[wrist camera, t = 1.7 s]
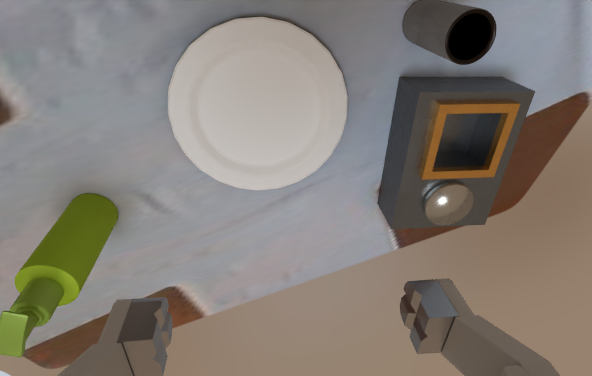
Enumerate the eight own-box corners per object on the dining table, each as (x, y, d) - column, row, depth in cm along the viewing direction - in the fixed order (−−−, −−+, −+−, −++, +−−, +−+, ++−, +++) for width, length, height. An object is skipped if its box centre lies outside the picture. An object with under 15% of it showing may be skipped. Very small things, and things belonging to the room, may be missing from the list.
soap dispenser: (123, 194, 47) (52, 325, 30) (113, 234, 50) (43, 372, 33) (74, 181, 45) (-32, 311, 28) (67, 222, 48) (-33, 363, 31)
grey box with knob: (399, 77, 42) (423, 95, 36) (502, 76, 44) (541, 94, 38) (377, 203, 52) (393, 233, 46) (462, 199, 53) (488, 229, 47)
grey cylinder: (450, 9, 39) (508, 21, 30) (427, 49, 41) (475, 72, 32) (416, -9, 38) (465, -2, 29) (394, 34, 40) (435, 53, 31)
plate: (157, 163, 45) (154, 170, 44) (187, -17, 35) (185, -16, 34) (310, 199, 51) (312, 206, 49) (373, 51, 41) (378, 55, 39)
